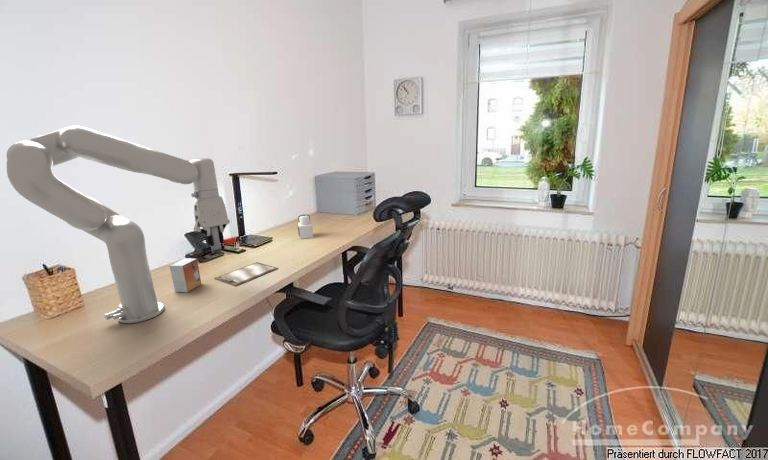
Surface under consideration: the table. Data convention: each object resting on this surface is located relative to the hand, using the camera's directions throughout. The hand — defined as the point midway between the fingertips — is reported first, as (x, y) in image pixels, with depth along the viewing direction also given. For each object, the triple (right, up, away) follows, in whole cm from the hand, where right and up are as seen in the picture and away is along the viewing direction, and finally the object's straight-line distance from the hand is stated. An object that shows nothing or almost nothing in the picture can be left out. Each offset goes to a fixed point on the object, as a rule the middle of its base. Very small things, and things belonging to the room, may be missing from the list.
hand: (215, 243), depth 133 cm
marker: (0, -3, +1) cm, 3 cm away
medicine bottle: (+19, +1, +64) cm, 67 cm away
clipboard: (+5, -13, +16) cm, 22 cm away
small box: (-13, -17, +5) cm, 22 cm away
